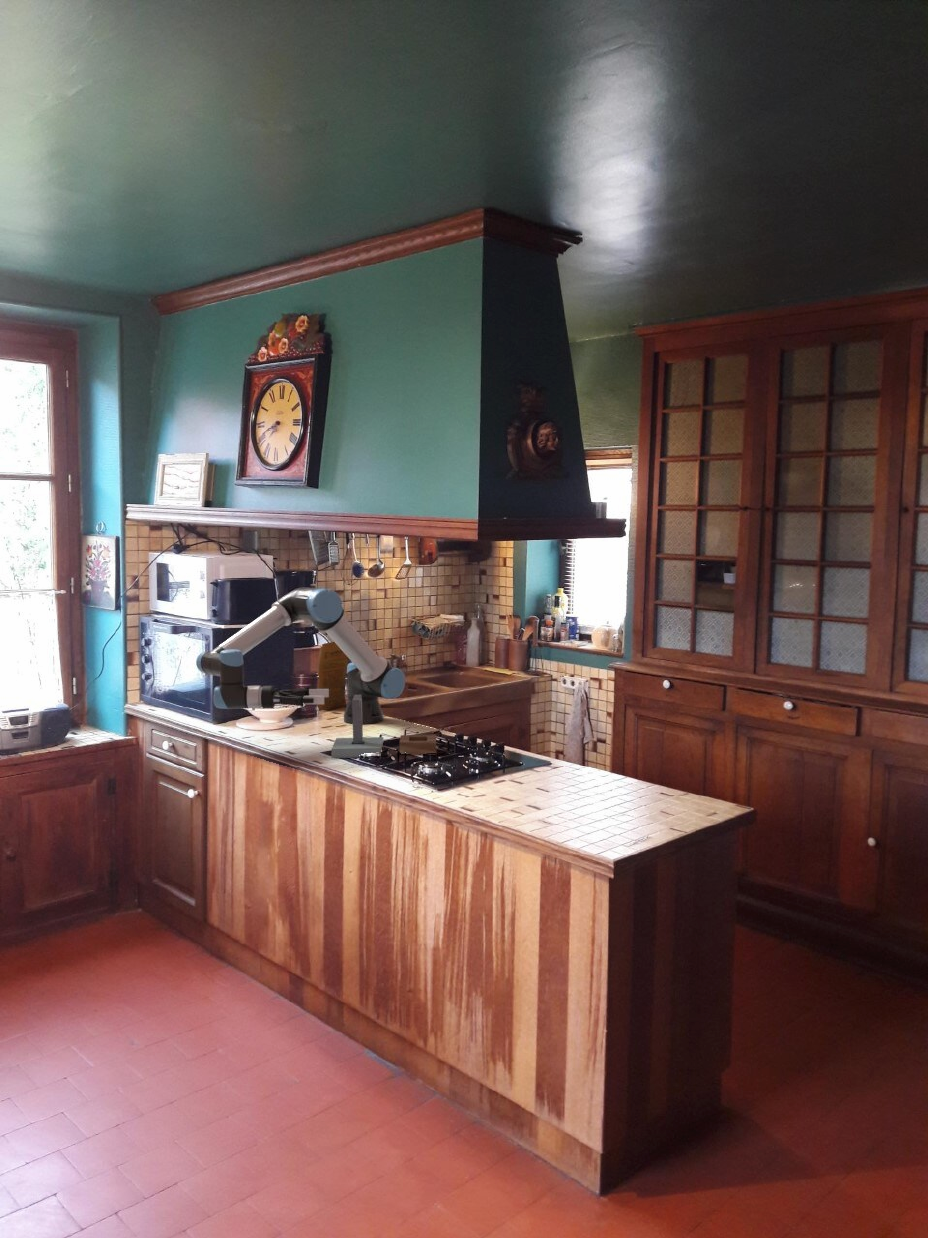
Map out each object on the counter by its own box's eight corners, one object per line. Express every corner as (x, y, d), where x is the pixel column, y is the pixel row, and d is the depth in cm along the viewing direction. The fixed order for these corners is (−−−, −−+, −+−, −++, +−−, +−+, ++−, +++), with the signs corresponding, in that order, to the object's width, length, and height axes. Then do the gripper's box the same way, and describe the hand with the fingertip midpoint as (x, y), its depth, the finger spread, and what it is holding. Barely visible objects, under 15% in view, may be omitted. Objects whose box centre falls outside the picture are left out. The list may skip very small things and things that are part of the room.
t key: (355, 748, 337) (353, 694, 335) (363, 748, 337) (362, 694, 335) (352, 755, 327) (351, 700, 325) (361, 755, 327) (360, 699, 325)
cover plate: (336, 746, 340) (336, 738, 339) (383, 745, 340) (383, 737, 340) (331, 757, 324) (331, 748, 323) (381, 756, 324) (380, 747, 324)
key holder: (400, 746, 338) (400, 735, 338) (436, 746, 338) (436, 734, 338) (399, 755, 326) (399, 743, 326) (436, 754, 327) (436, 742, 326)
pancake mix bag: (356, 705, 415) (354, 638, 412) (322, 712, 400) (320, 643, 397) (344, 703, 419) (342, 637, 416) (311, 711, 404) (309, 642, 401)
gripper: (268, 701, 342) (330, 701, 342) (255, 715, 317) (322, 714, 317) (268, 680, 341) (330, 679, 341) (254, 692, 316) (321, 691, 317)
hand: (326, 696), depth 329 cm, fingers open, 13 cm apart
